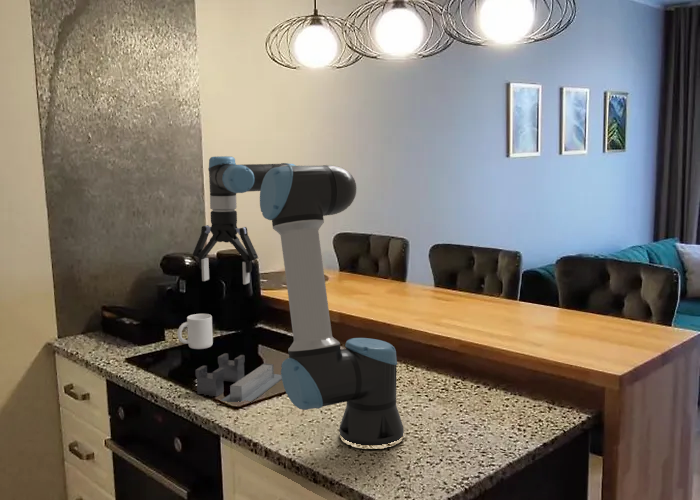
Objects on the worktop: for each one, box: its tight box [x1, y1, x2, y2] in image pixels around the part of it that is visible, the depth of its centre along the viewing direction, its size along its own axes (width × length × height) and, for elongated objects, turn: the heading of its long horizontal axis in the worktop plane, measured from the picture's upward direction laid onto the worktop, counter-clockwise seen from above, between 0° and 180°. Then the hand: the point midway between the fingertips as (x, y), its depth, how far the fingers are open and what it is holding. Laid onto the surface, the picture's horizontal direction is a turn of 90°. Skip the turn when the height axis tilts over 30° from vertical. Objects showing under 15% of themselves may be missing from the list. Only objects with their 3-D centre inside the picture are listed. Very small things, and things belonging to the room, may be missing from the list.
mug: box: [177, 313, 214, 350], centre depth 234 cm, size 12×8×10 cm
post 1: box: [194, 365, 225, 398], centre depth 190 cm, size 4×7×7 cm, turn 71°
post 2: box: [217, 352, 246, 383], centre depth 202 cm, size 4×7×7 cm, turn 70°
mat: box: [220, 373, 282, 402], centre depth 193 cm, size 26×8×1 cm, turn 160°
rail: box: [229, 362, 275, 402], centre depth 193 cm, size 20×3×4 cm, turn 160°
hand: (225, 281), depth 203 cm, fingers open, 13 cm apart
